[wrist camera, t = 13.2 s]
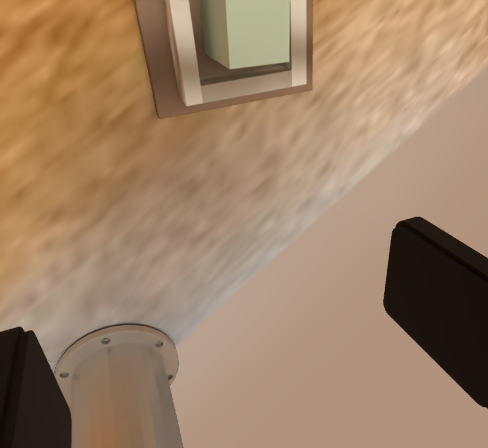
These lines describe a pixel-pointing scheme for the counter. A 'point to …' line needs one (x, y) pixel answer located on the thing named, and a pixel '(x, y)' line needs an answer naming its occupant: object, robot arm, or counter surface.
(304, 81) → the brown rectangular tray
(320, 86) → the counter surface
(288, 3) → the bar
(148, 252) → the counter surface
